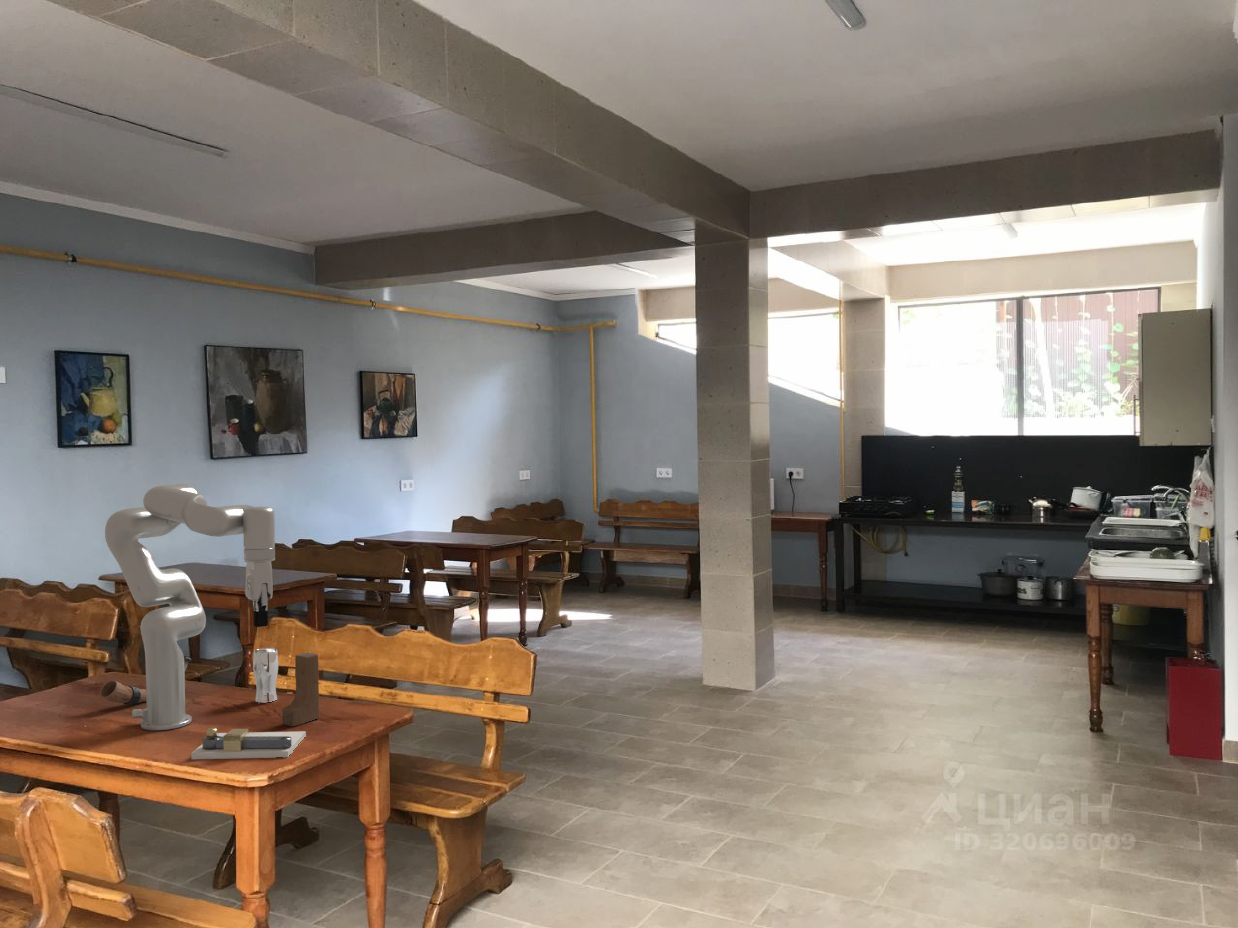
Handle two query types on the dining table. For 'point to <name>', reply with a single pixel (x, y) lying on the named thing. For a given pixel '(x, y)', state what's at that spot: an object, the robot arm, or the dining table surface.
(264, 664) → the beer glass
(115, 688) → the drinking horn
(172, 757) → the dining table surface
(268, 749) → the base plate
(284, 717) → the wooden block
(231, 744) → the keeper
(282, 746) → the link
